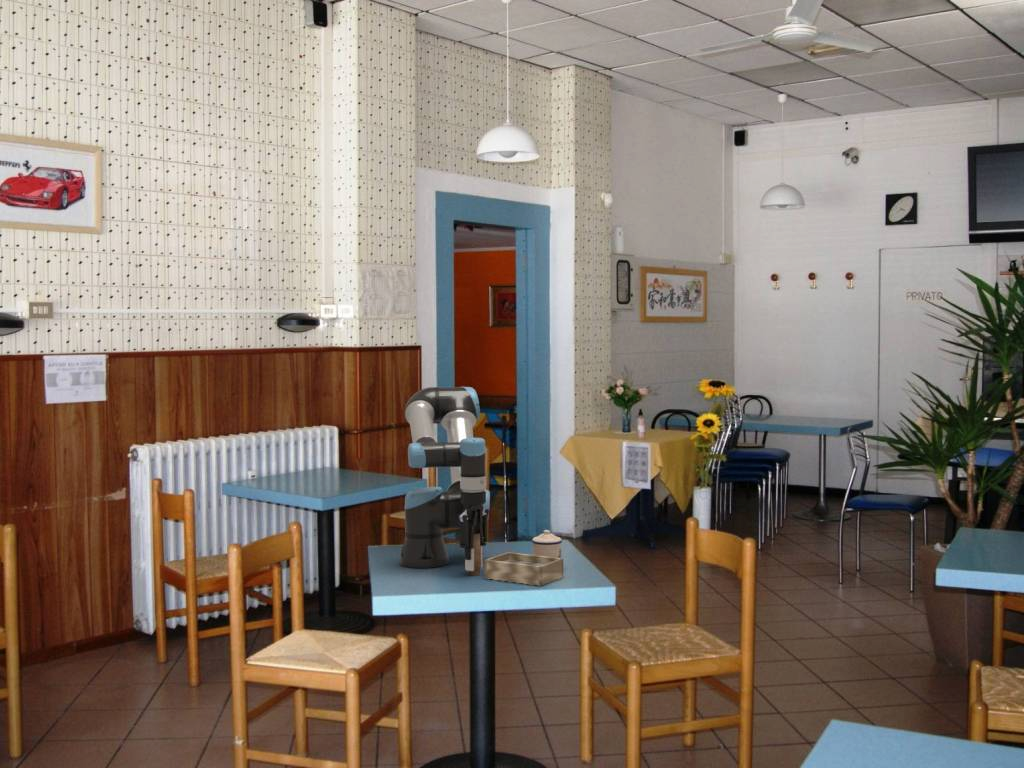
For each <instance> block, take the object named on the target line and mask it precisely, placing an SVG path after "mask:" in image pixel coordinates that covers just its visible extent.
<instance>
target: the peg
mask: <svg viewBox="0 0 1024 768" xmlns="http://www.w3.org/2000/svg"><path fill="white" fill-rule="evenodd" d="M472 549H474V571H468V570H467V575H468V574H469V575H468V576H471V575H476V576H480V575H481V568H480V533H474V534H473V545H472Z"/></svg>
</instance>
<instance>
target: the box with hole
mask: <svg viewBox="0 0 1024 768" xmlns="http://www.w3.org/2000/svg"><path fill="white" fill-rule="evenodd" d="M483 561H484V562H483V564H484V566H483V568H484V571H483V572H484V573H483V575H484V576H483V577H484V578H485V580H489V579H493V580H492V581H497V580H502V581H501V582H504V581H508V582H507V583H512V582H516V583H515V584H519V583H524V584H523V585H526V584H530V585H529V586H534V585H537V586H536V587H543V586H545V584H546V585H548V584H550V582H551V583H553V582H555V580H556V581H558V580H560V578H561V579H563V578H564V558H562V557H561V558H553V557H545V556H536V555H533V554H528V553H527V554H525V553H518V552H509V551H507V552H504V553H502V554H499V555H495V556H492V557H490V558H487V559H483ZM557 579H558V580H557ZM552 581H553V582H552ZM547 583H548V584H547ZM542 585H543V586H542Z"/></svg>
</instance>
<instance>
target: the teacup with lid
mask: <svg viewBox="0 0 1024 768" xmlns="http://www.w3.org/2000/svg"><path fill="white" fill-rule="evenodd" d="M531 543H532V555H536V556H545V557H553V558H562V543H563V540H562V538H561V537H559V536H556V535H555V534H553V533H551V531H550V530H549V529H544V530H543V533H541V534H539V535H537V536H535V537H533V538H532V539H531Z"/></svg>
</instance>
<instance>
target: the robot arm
mask: <svg viewBox="0 0 1024 768" xmlns="http://www.w3.org/2000/svg"><path fill="white" fill-rule="evenodd" d="M480 413H481V409H480V401H479V397H478V393H477V390H476V389H474V388H473V387H471V386H458V387H456V386H450V387H449V386H445V387H442V386H441V387H440V386H439V387H438V386H437V387H435V386H431V387H425V388H422V389H420V390H419V391H417V392H415V393H414V394H412V396H411V397H410V398H409V399H408V400H407V402H406V404H405V409H404V416H405V420H406V422H407V423H408V424H409V426H410V428H409V429H410V434H411V440H412V442H411V443H409V444H408V448H407V459H408V466H409V467H410V468H412V469H413V468H416V469H417V468H418V469H426V468H429V469H430V468H449V469H450V470H449V471H450V480H451V484H449V486H448V487H447V490H446V491H444V490H443V488H442V487H440V486H428V487H421V488H416V489H413V490H410V491H409V492H407V493H406V494H405V498H404V506H403V507H404V512H405V513H404V516H405V517H404V525H405V526H404V527H405V529H404V531H405V532H404V533H405V535H404V536H405V537H404V538H405V539H404V542H403V545H402V548H401V552H400V556H399V564H400V565H401V566H403V567H406V568H413V569H414V568H415V569H428V568H439V567H442V566H446V565H448V564H449V562H450V561H449V560H450V559H449V553H448V550H447V548H446V544H445V541H444V534H443V533H444V532H443V530H451V529H452V530H453V529H454V530H455V529H458V533H459V534H458V535H459V536H458V537H459V539H458V540H459V547H460V548H461V549H464V561H465V562H464V569H465V571H467V572H468V571H474V549H472V545H473V534H474V533H480V569H483V568H484V566H483V564H484V562H483V561H484V559H483V554H484V550H483V549H484V547H486V546H487V542H488V530H489V529H488V528H489V526H488V521H489V514H490V501H491V492H490V490H488V489H486V486H487V485H486V484H487V483H486V482H487V481H486V476H487V475H486V462H487V461H486V454H487V448H486V441H485V439H484V438H483V437H474V431H473V428H474V426H475V425H476V423H477V421H478V420H480V415H481V414H480ZM434 422H436V423H437V422H439V423H441V426H442V428H443V429H444V430H446V434H447V435H446V437H447V438H446V439H447V442H445V441H444V442H443V441H442V442H438V440H437V434H436V429H435V425H434Z"/></svg>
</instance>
